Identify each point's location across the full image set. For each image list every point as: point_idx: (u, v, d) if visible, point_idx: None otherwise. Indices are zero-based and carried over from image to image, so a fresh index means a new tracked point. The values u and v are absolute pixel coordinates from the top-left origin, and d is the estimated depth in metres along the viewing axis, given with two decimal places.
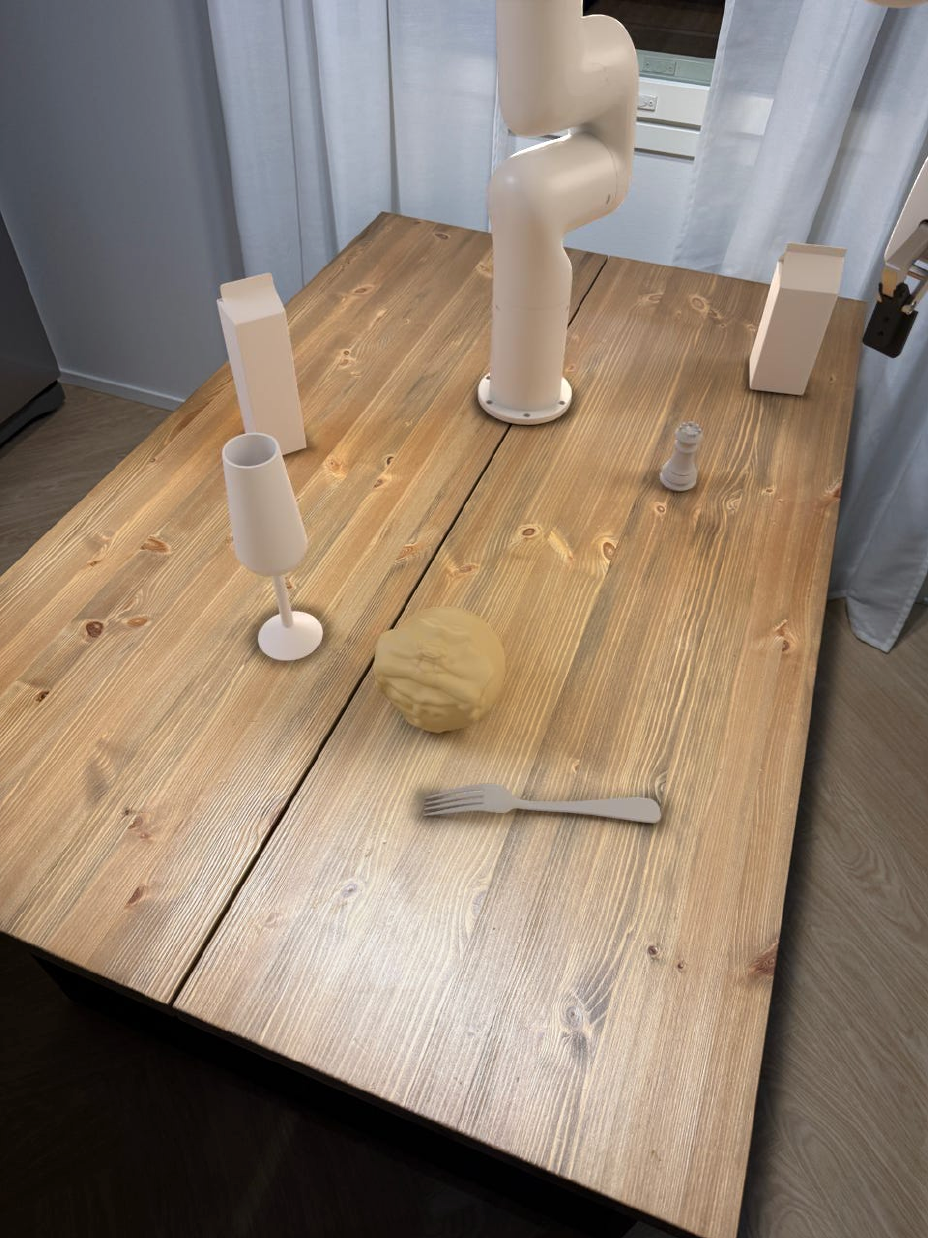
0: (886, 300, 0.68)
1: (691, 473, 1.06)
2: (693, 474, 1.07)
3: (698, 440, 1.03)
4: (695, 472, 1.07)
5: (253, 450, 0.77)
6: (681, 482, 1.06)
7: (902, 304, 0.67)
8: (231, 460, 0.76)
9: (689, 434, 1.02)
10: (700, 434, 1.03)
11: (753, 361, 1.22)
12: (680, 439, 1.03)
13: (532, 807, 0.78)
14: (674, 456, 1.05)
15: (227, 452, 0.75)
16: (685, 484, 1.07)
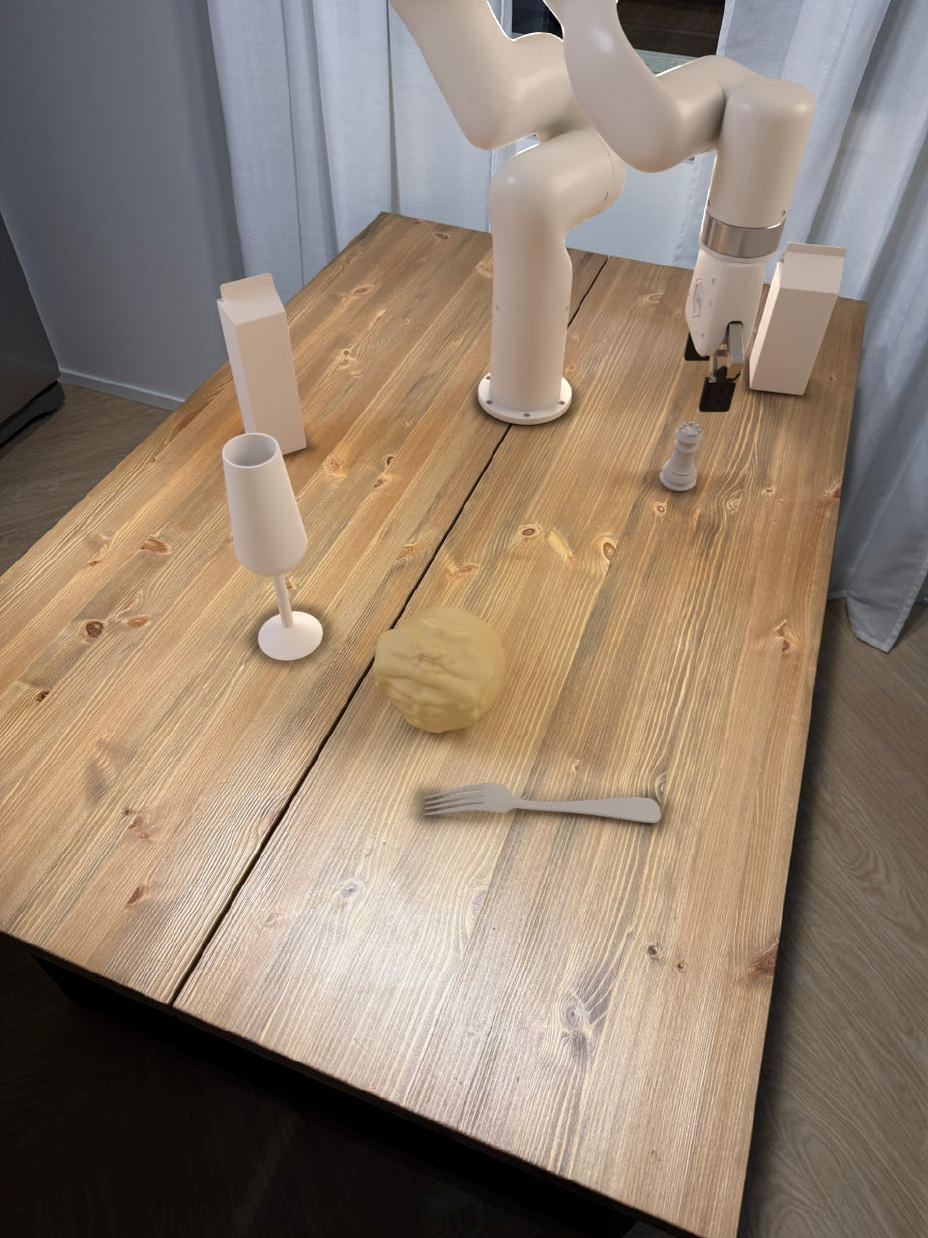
0: (723, 380, 0.90)
1: (691, 473, 1.06)
2: (693, 474, 1.07)
3: (698, 440, 1.03)
4: (695, 472, 1.07)
5: (253, 450, 0.77)
6: (681, 482, 1.06)
7: None
8: (231, 460, 0.76)
9: (689, 434, 1.02)
10: (700, 434, 1.03)
11: (753, 361, 1.22)
12: (680, 439, 1.03)
13: (532, 806, 0.78)
14: (674, 456, 1.05)
15: (227, 452, 0.75)
16: (685, 484, 1.07)
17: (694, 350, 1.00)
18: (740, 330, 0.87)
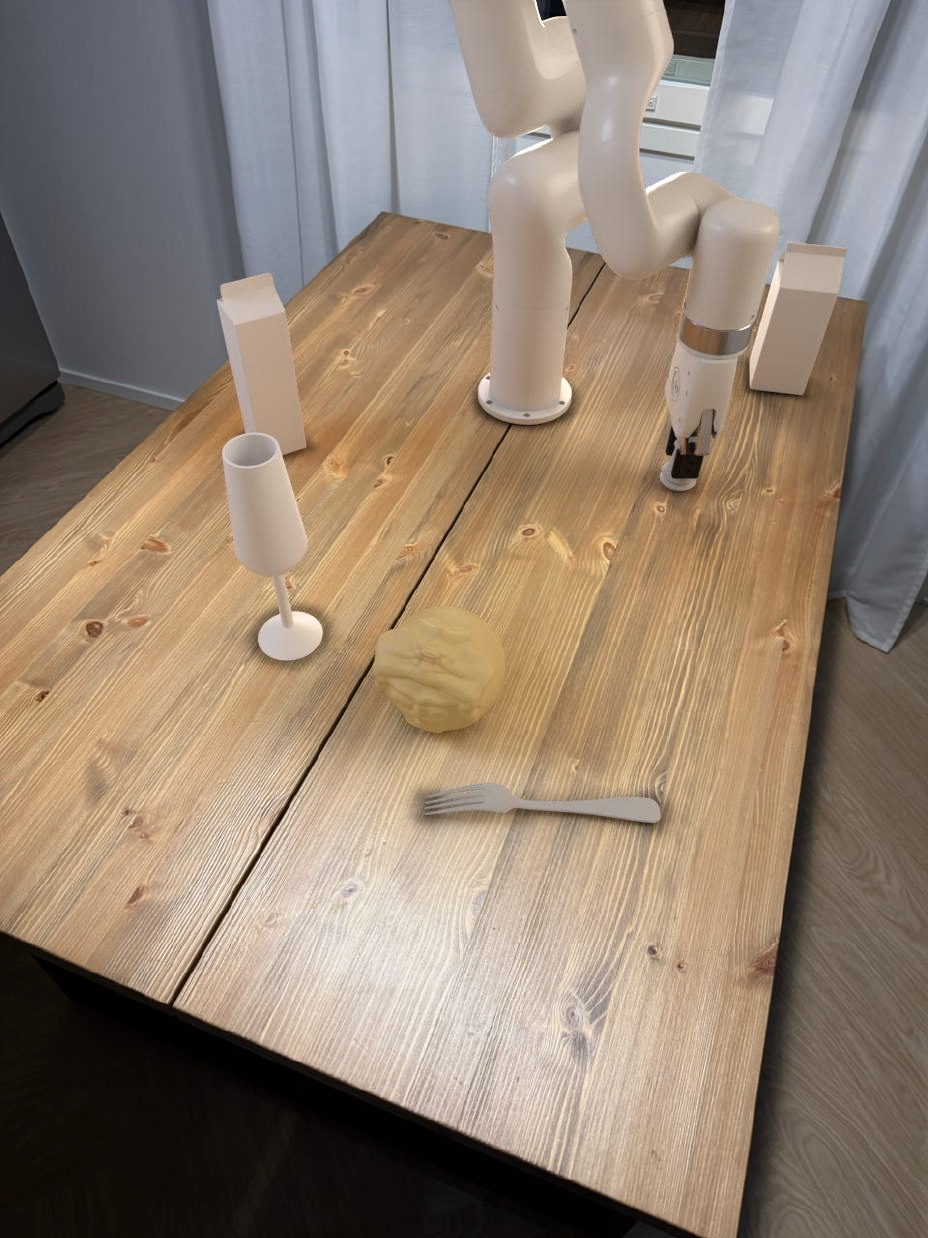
0: (692, 454, 1.01)
1: None
2: None
3: None
4: None
5: (253, 450, 0.77)
6: (681, 482, 1.06)
7: None
8: (231, 460, 0.76)
9: None
10: None
11: (753, 361, 1.22)
12: (680, 439, 1.03)
13: (532, 806, 0.78)
14: (674, 456, 1.05)
15: (227, 452, 0.75)
16: (685, 484, 1.07)
17: None
18: (710, 422, 0.96)
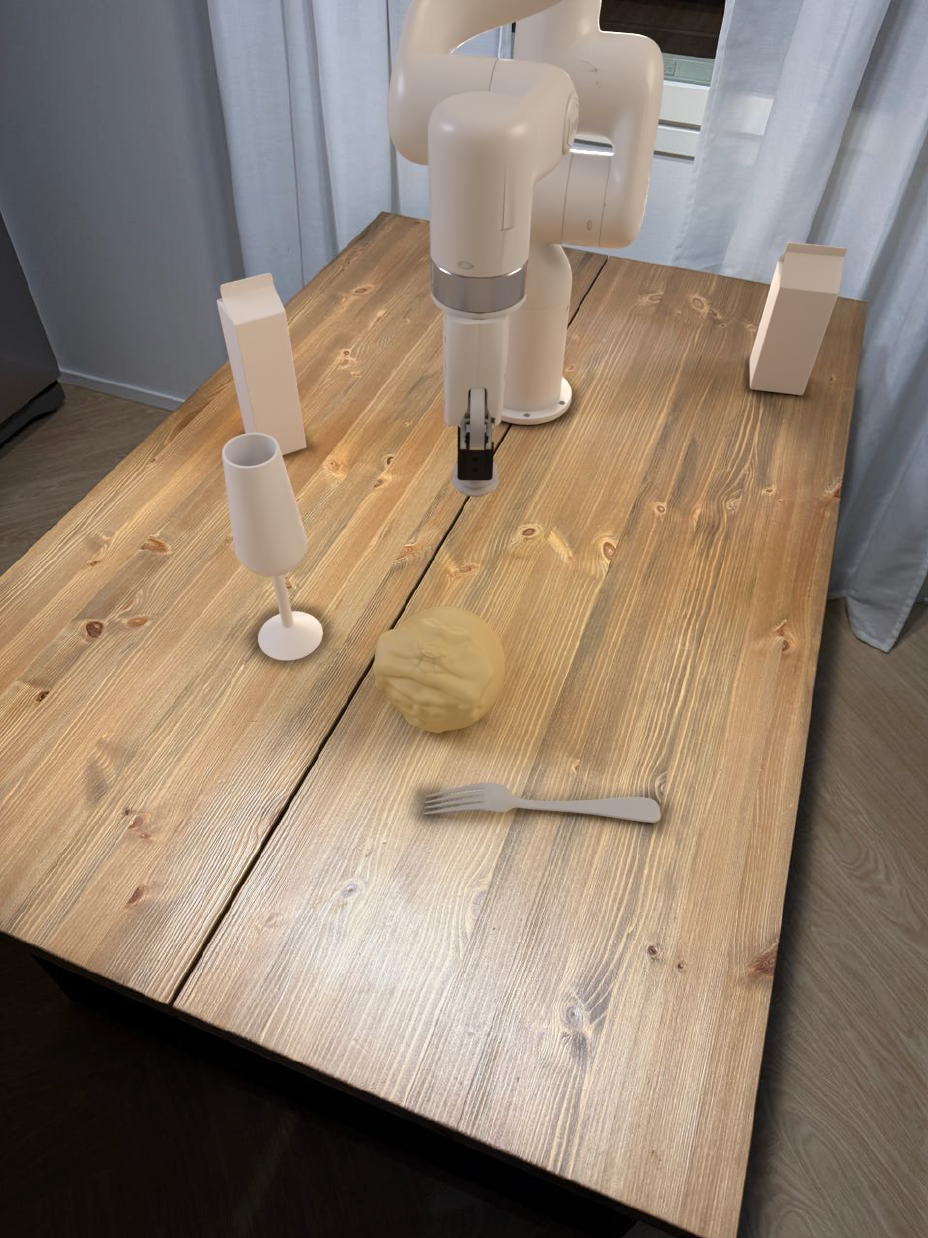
0: None
1: None
2: None
3: None
4: (494, 472, 0.83)
5: (253, 450, 0.77)
6: (474, 484, 0.82)
7: (485, 445, 0.77)
8: (231, 460, 0.76)
9: None
10: None
11: (753, 361, 1.22)
12: None
13: (532, 806, 0.78)
14: None
15: (227, 452, 0.75)
16: (480, 487, 0.83)
17: None
18: (483, 406, 0.72)
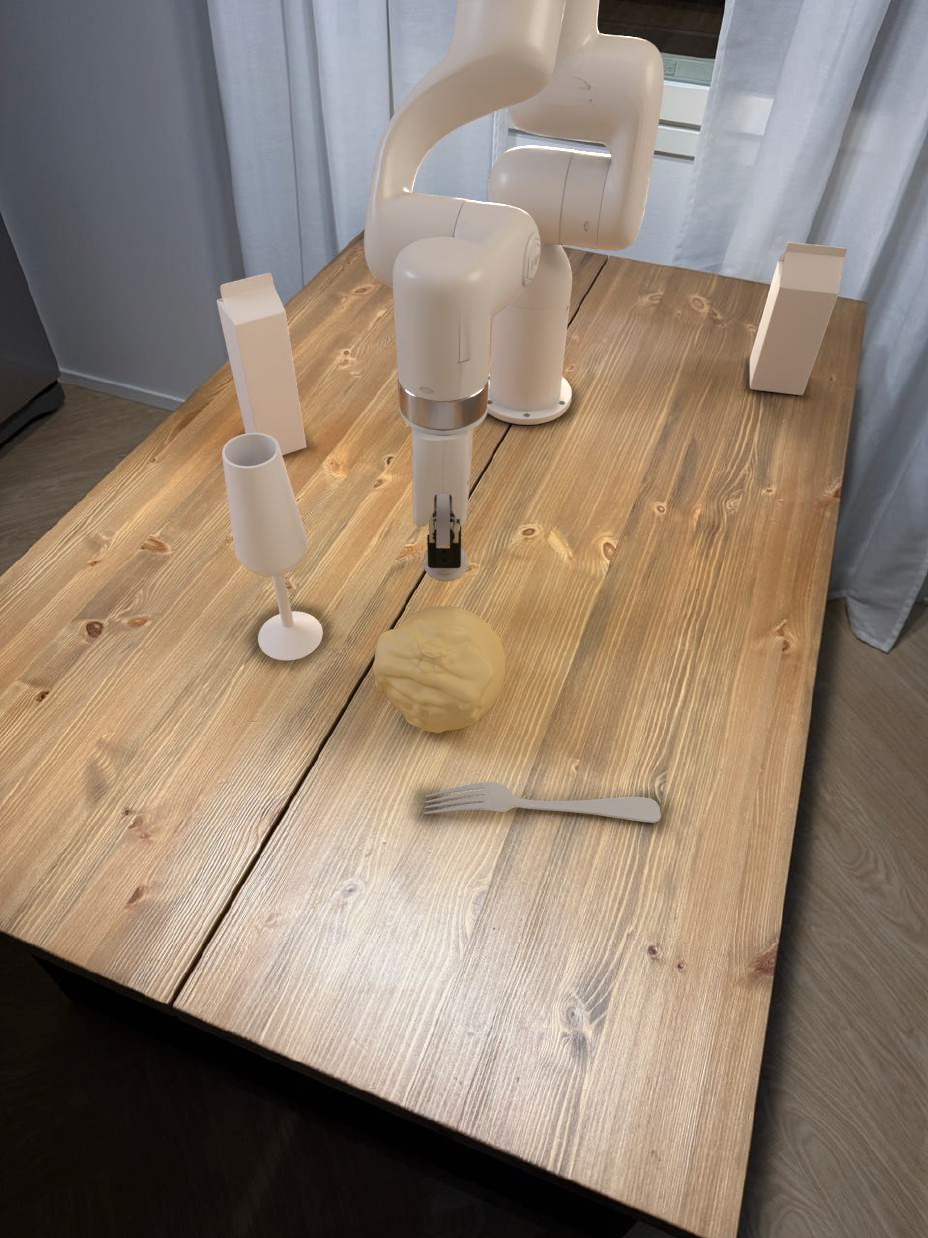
0: None
1: None
2: None
3: None
4: (462, 559, 0.88)
5: (253, 450, 0.77)
6: (444, 571, 0.88)
7: (452, 539, 0.83)
8: (231, 460, 0.76)
9: None
10: None
11: (753, 361, 1.22)
12: None
13: (532, 806, 0.78)
14: None
15: (227, 452, 0.75)
16: (450, 573, 0.88)
17: None
18: (448, 509, 0.78)
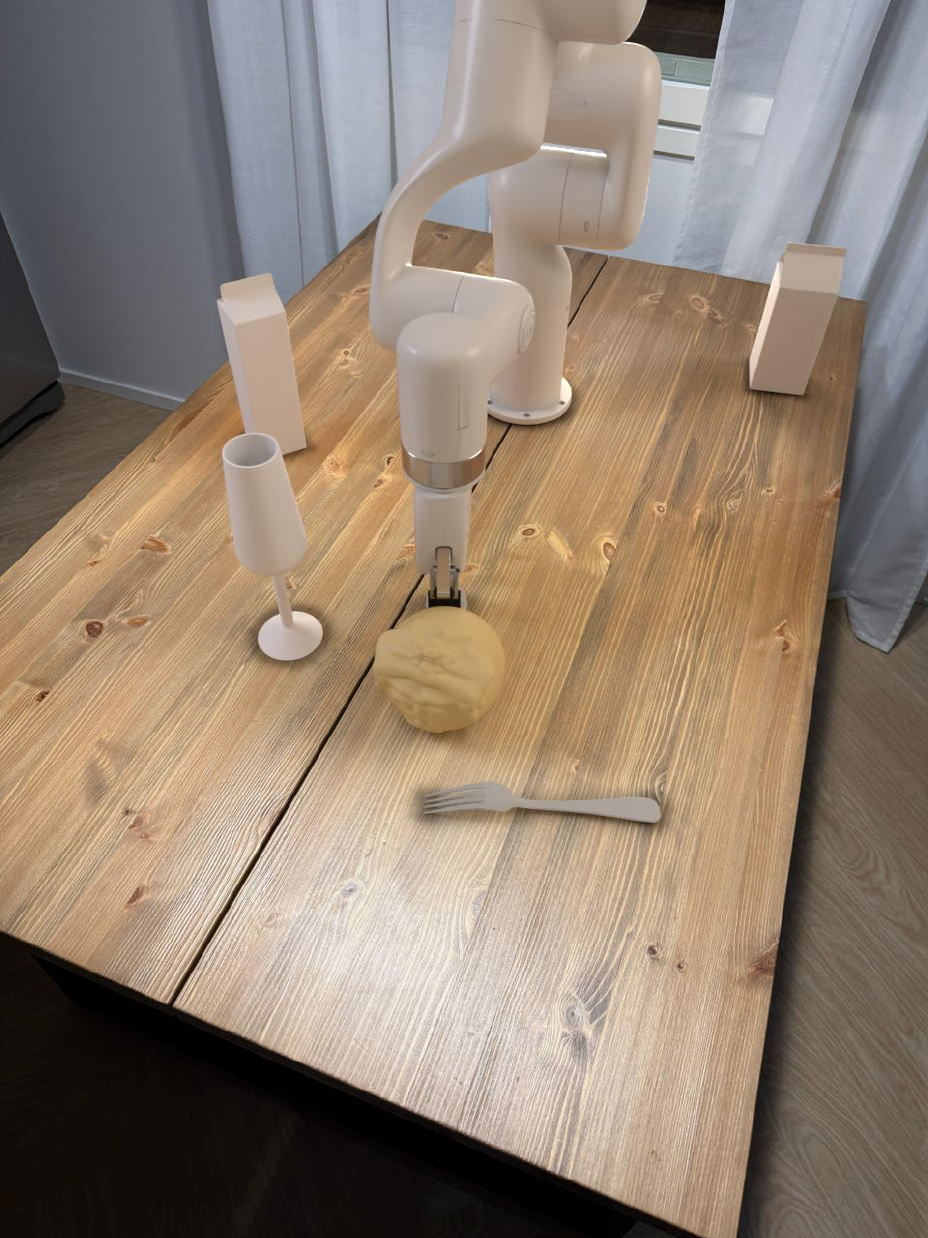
0: None
1: None
2: None
3: None
4: (462, 599, 0.93)
5: (253, 450, 0.77)
6: None
7: None
8: (231, 460, 0.76)
9: None
10: None
11: (753, 361, 1.22)
12: None
13: (532, 805, 0.78)
14: None
15: (227, 452, 0.75)
16: None
17: None
18: (448, 557, 0.81)
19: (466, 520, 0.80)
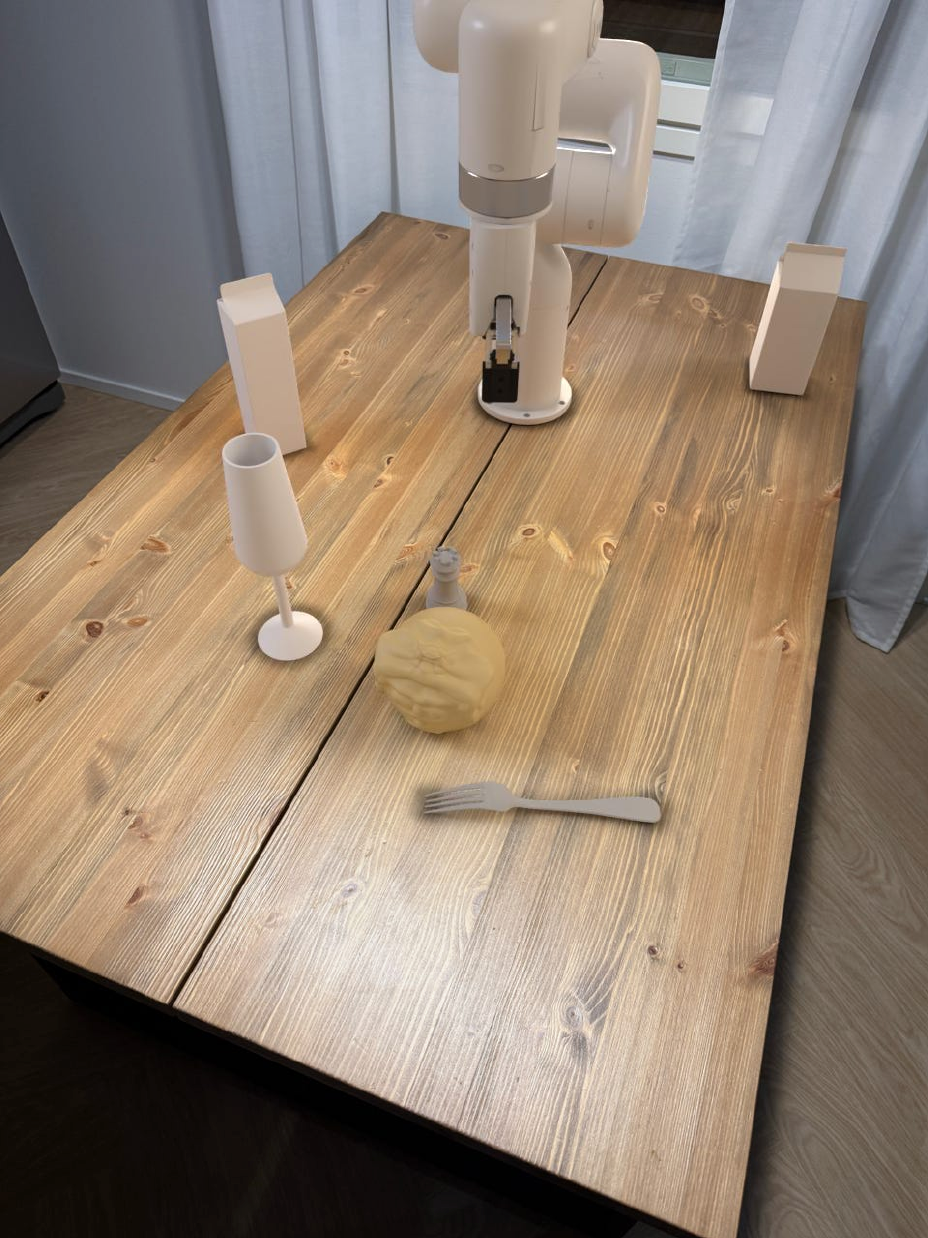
0: (498, 366, 0.75)
1: (456, 601, 0.92)
2: (459, 602, 0.93)
3: (454, 569, 0.89)
4: (462, 599, 0.93)
5: (253, 450, 0.77)
6: None
7: None
8: (231, 460, 0.76)
9: (442, 563, 0.88)
10: (457, 562, 0.89)
11: (753, 361, 1.22)
12: (434, 567, 0.89)
13: (532, 805, 0.79)
14: (434, 583, 0.91)
15: (227, 452, 0.75)
16: None
17: (491, 327, 0.85)
18: (509, 306, 0.72)
19: (530, 261, 0.71)
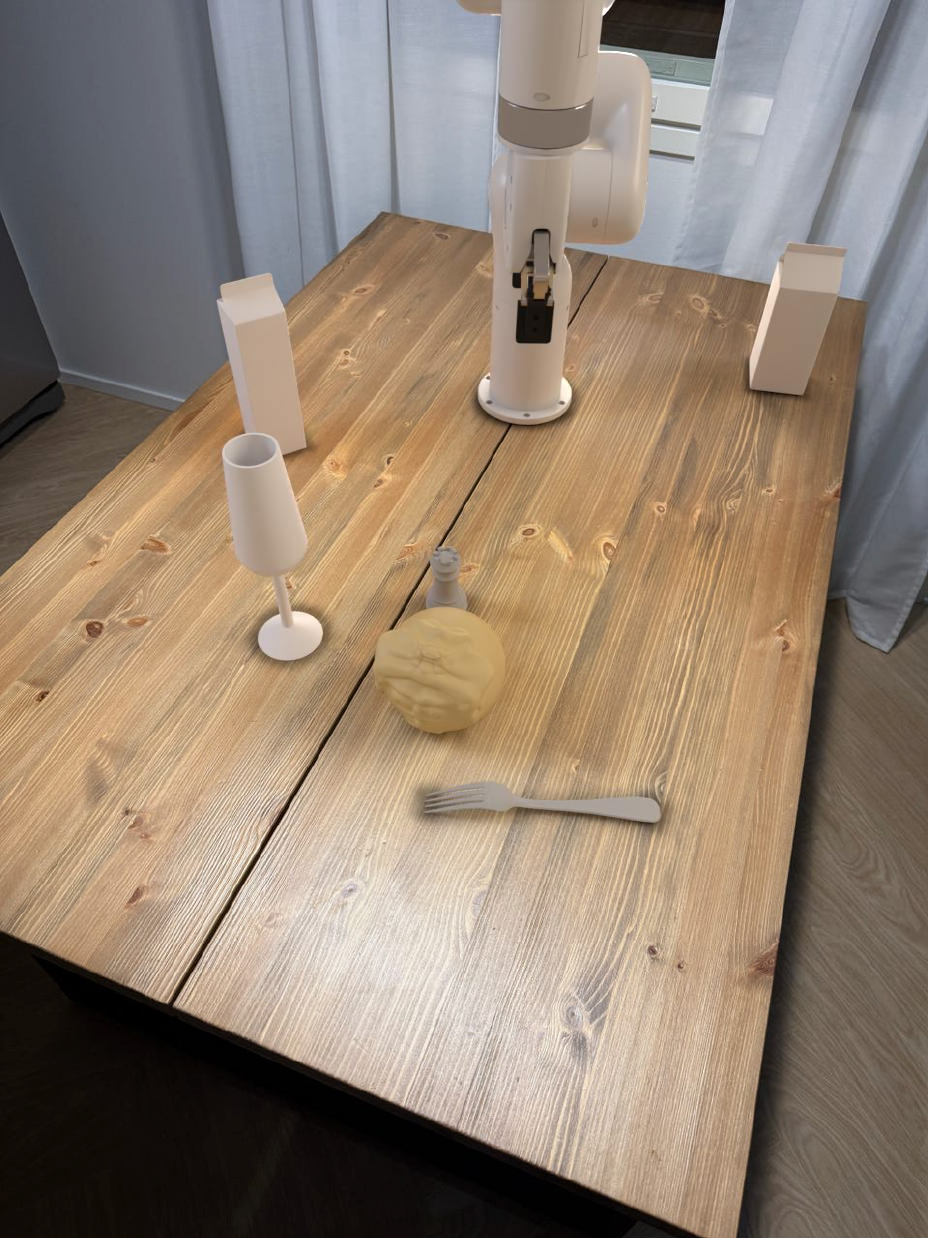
0: (534, 303, 0.76)
1: (456, 601, 0.92)
2: (459, 602, 0.93)
3: (454, 569, 0.89)
4: (462, 599, 0.93)
5: (253, 450, 0.77)
6: None
7: None
8: (231, 460, 0.76)
9: (442, 563, 0.88)
10: (457, 562, 0.89)
11: (753, 361, 1.22)
12: (434, 567, 0.89)
13: (532, 805, 0.79)
14: (434, 583, 0.91)
15: (227, 452, 0.75)
16: None
17: (521, 275, 0.86)
18: (547, 240, 0.73)
19: (568, 194, 0.72)
